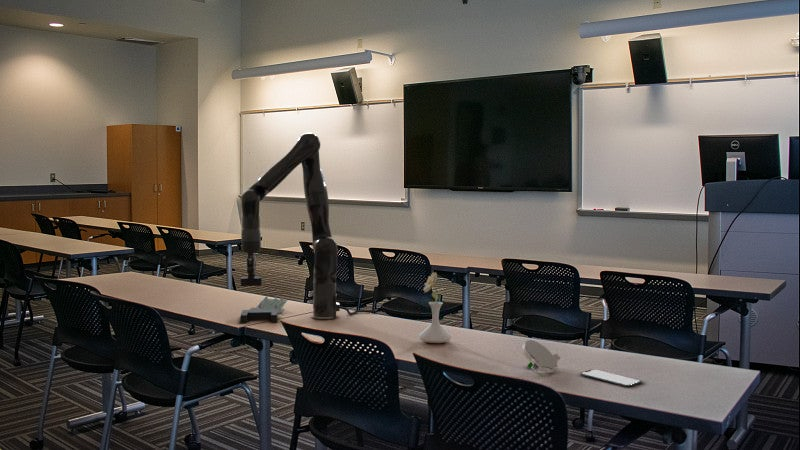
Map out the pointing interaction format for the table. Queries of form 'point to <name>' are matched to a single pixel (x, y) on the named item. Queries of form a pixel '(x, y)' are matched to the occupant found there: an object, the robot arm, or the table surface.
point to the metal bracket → (271, 304)
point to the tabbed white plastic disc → (539, 357)
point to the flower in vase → (434, 318)
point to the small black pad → (256, 282)
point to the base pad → (258, 315)
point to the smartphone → (611, 377)
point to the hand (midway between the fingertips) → (251, 282)
